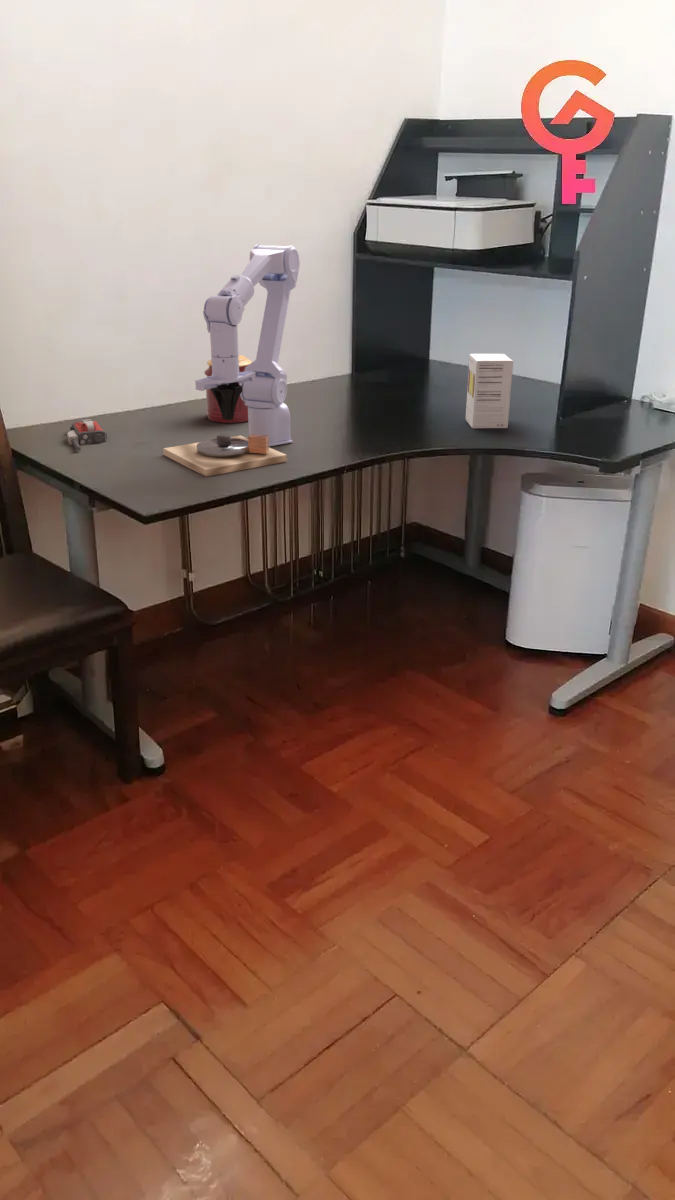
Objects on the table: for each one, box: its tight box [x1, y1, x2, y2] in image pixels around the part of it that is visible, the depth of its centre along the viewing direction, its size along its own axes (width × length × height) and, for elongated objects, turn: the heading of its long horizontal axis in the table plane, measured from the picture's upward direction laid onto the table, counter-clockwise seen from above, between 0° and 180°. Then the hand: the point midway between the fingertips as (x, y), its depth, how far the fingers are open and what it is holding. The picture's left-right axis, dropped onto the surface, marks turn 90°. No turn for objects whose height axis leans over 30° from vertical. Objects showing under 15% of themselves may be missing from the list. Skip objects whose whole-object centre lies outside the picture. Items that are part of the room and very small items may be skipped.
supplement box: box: [465, 353, 514, 429], centre depth 236 cm, size 10×9×17 cm
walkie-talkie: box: [66, 418, 108, 451], centre depth 223 cm, size 9×4×20 cm
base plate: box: [162, 433, 288, 478], centre depth 209 cm, size 20×20×5 cm
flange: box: [197, 434, 270, 457], centre depth 208 cm, size 16×12×4 cm
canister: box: [203, 354, 253, 424], centre depth 241 cm, size 13×13×18 cm
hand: (227, 419), depth 205 cm, fingers closed
